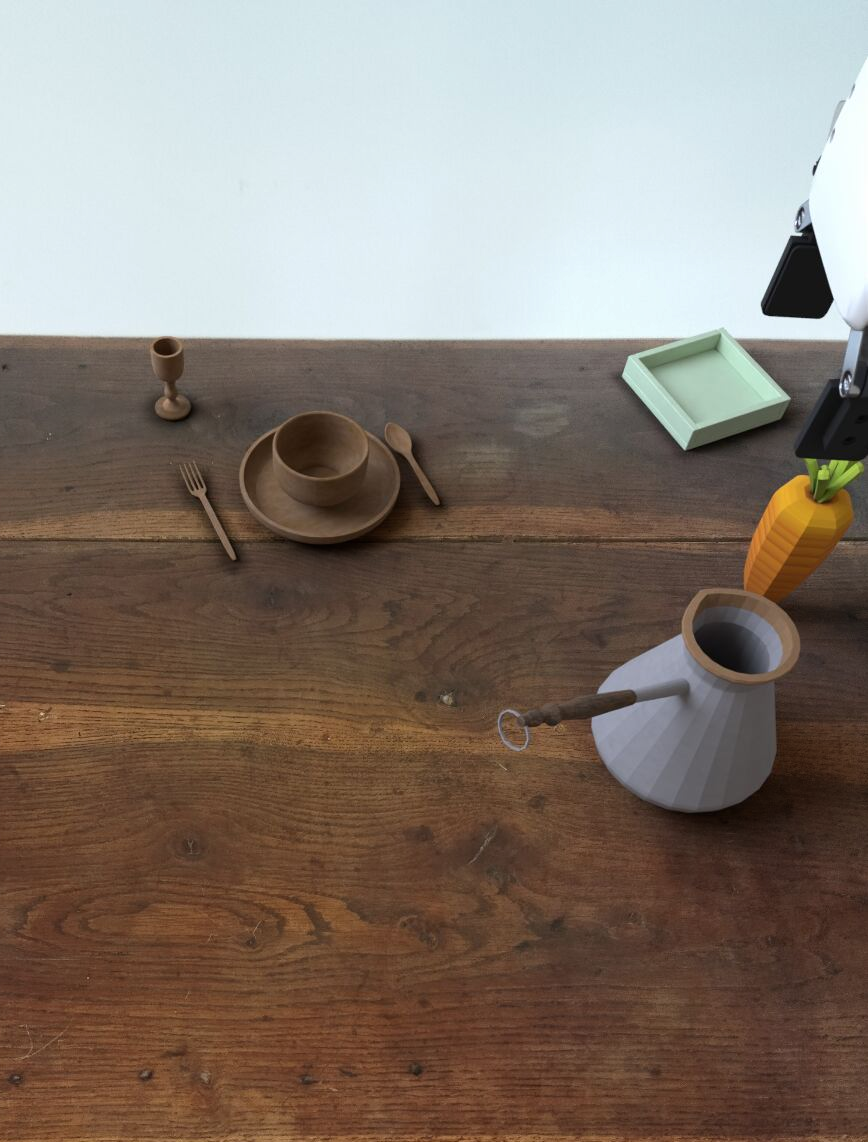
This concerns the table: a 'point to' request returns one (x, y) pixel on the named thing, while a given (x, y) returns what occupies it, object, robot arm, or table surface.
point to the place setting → (303, 468)
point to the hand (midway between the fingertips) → (808, 381)
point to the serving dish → (705, 388)
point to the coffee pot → (692, 705)
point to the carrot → (800, 528)
